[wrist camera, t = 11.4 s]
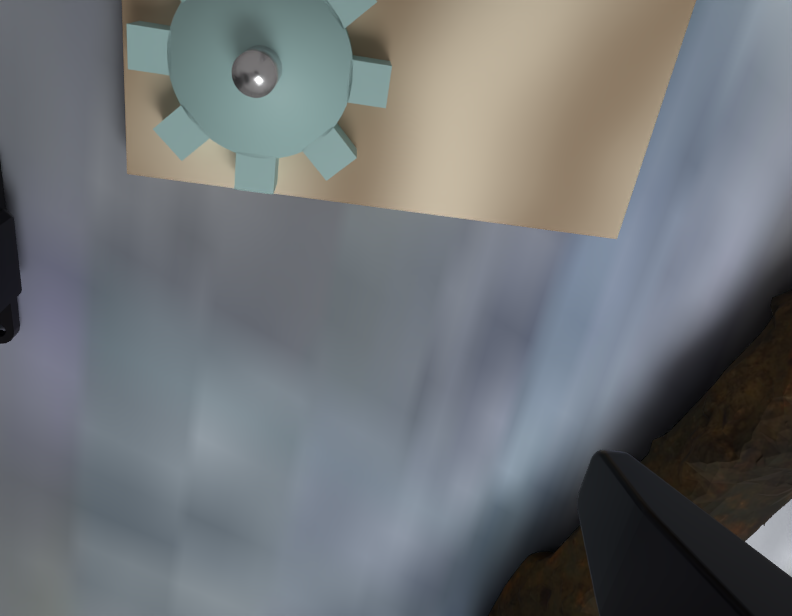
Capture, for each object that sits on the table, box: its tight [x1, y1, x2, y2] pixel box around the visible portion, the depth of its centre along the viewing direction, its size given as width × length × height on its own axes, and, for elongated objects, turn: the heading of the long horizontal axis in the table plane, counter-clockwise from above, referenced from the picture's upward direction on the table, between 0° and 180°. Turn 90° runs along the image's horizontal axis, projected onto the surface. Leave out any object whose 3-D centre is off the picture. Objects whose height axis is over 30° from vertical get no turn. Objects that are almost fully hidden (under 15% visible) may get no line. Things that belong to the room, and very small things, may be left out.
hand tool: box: [489, 290, 792, 616], centre depth 23 cm, size 23×5×6 cm, turn 146°
